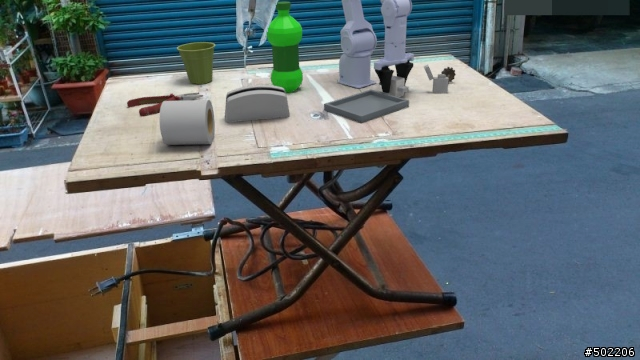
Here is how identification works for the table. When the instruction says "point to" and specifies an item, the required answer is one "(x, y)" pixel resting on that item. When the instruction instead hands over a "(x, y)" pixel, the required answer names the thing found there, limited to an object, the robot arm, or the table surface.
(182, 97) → the pliers
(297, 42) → the plastic bottle
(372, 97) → the tray
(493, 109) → the table surface
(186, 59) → the plant pot
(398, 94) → the plug
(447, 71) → the gear
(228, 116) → the grey napkin holder
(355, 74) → the robot arm
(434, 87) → the lighter
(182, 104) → the toilet paper
